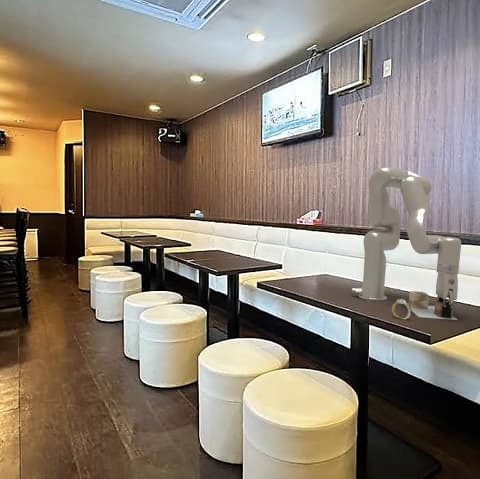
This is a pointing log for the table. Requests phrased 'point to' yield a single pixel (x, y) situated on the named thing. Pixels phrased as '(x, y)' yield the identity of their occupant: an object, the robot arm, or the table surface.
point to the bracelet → (401, 303)
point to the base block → (418, 300)
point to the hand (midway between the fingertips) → (443, 314)
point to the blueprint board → (428, 313)
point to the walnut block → (439, 309)
